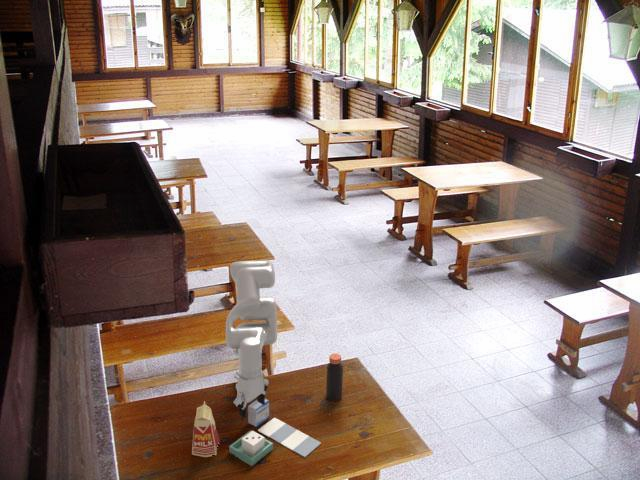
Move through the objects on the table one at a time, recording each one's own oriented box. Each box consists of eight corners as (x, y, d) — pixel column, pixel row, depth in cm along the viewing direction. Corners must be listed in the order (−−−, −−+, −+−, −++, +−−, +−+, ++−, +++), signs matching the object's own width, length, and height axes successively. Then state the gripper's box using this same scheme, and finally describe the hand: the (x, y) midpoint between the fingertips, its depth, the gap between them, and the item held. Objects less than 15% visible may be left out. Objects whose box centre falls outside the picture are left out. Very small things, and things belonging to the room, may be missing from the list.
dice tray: (229, 452, 241) (229, 446, 239) (250, 436, 249) (250, 430, 248) (251, 466, 234) (251, 459, 233) (272, 449, 243) (272, 443, 241)
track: (257, 430, 252) (257, 430, 252) (274, 418, 260) (274, 417, 259) (304, 457, 239) (304, 456, 239) (321, 443, 246) (321, 442, 246)
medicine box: (256, 427, 254) (255, 409, 251) (248, 423, 257) (247, 405, 253) (269, 417, 260) (269, 400, 257) (261, 413, 262) (261, 395, 259)
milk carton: (196, 440, 246) (193, 397, 239) (220, 441, 246) (218, 398, 238) (191, 457, 238) (188, 413, 230) (215, 458, 238) (213, 414, 230)
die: (242, 451, 240) (241, 438, 238) (253, 443, 245) (252, 430, 242) (253, 458, 237) (253, 445, 235) (264, 449, 241) (264, 437, 239)
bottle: (324, 399, 271) (325, 359, 264) (328, 390, 278) (329, 351, 270) (340, 402, 270) (341, 362, 262) (343, 392, 276) (344, 353, 268)
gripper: (259, 355, 235) (260, 394, 242) (225, 377, 223) (227, 417, 230) (275, 363, 231) (275, 402, 238) (241, 386, 219) (242, 426, 225)
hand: (252, 409), depth 234 cm, fingers open, 9 cm apart
